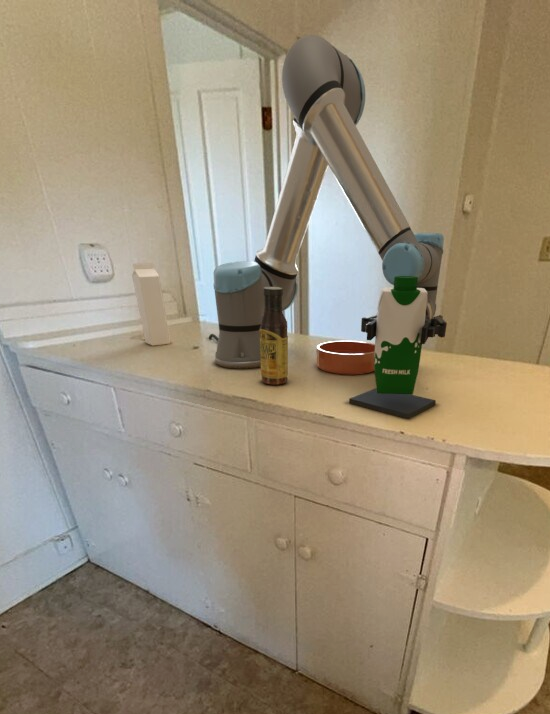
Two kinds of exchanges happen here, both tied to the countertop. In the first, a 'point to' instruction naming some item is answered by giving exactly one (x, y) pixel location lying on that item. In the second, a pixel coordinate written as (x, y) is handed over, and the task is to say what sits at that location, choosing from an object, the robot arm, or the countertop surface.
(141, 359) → the countertop surface
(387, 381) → the drink carton
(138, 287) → the milk
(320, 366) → the bowl
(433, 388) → the countertop surface
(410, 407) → the mat
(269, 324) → the sauce bottle
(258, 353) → the robot arm
